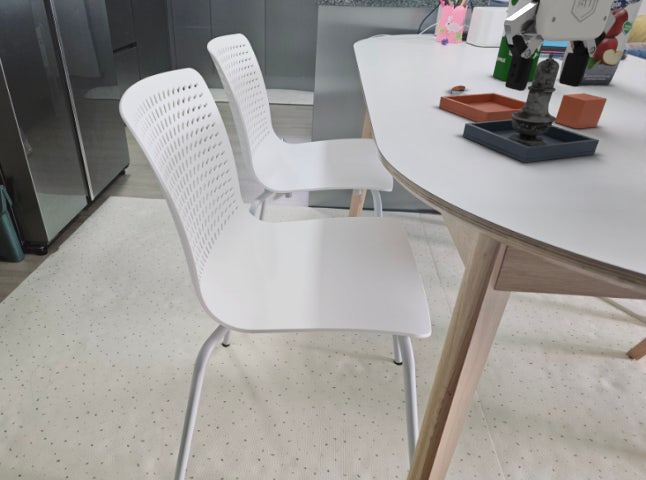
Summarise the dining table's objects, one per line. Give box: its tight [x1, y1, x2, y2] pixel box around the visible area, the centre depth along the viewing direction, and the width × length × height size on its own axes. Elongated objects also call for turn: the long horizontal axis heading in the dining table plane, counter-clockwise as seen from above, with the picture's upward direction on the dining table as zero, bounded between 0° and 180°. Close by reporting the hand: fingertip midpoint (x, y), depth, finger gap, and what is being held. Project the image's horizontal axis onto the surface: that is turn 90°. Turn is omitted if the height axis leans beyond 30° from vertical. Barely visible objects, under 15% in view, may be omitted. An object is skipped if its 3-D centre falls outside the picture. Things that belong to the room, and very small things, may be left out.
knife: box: [449, 84, 466, 96], centre depth 100 cm, size 13×1×3 cm
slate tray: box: [462, 119, 600, 163], centre depth 69 cm, size 12×13×2 cm
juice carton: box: [559, 0, 643, 86], centre depth 105 cm, size 9×10×27 cm
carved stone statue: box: [507, 51, 560, 146], centre depth 66 cm, size 6×6×12 cm
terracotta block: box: [554, 92, 608, 130], centre depth 78 cm, size 4×4×4 cm
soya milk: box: [492, 0, 545, 82], centre depth 111 cm, size 9×9×20 cm
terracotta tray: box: [438, 92, 526, 122], centre depth 85 cm, size 12×13×2 cm
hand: (542, 86), depth 65 cm, fingers open, 9 cm apart
